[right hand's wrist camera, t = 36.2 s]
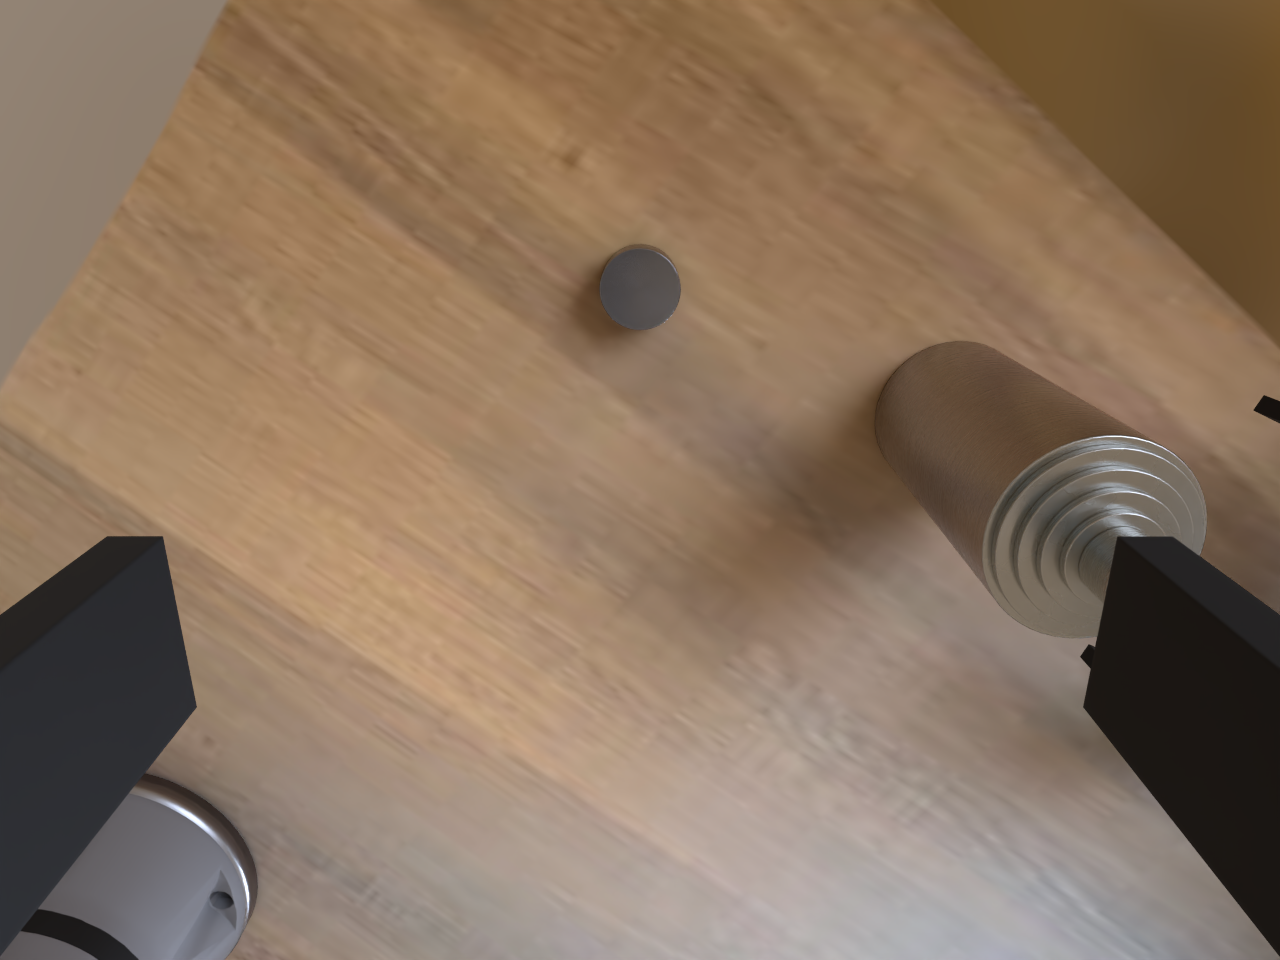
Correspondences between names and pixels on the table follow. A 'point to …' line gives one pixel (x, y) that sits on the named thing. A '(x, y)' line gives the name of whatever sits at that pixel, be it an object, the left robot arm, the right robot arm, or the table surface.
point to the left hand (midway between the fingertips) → (1182, 543)
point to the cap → (640, 287)
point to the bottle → (1030, 481)
